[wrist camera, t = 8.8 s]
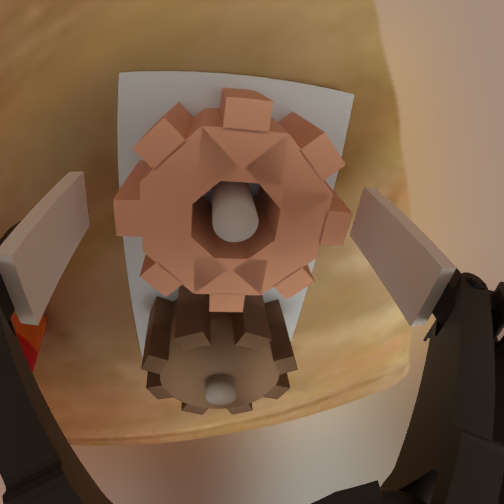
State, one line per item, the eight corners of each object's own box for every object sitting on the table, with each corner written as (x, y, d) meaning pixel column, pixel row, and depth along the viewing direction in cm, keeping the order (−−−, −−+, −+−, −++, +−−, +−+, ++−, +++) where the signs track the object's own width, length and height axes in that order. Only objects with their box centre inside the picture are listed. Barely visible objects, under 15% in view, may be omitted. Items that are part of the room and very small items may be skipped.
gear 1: (142, 250, 18) (126, 307, 14) (141, 85, 13) (110, 95, 9) (298, 256, 20) (320, 311, 16) (331, 102, 15) (376, 120, 10)
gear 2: (157, 360, 24) (152, 426, 19) (145, 269, 19) (128, 346, 14) (270, 361, 26) (282, 425, 21) (293, 274, 21) (318, 347, 15)
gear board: (146, 347, 26) (138, 415, 20) (129, 71, 14) (80, 78, 8) (278, 349, 28) (293, 415, 22) (340, 90, 16) (404, 111, 10)
